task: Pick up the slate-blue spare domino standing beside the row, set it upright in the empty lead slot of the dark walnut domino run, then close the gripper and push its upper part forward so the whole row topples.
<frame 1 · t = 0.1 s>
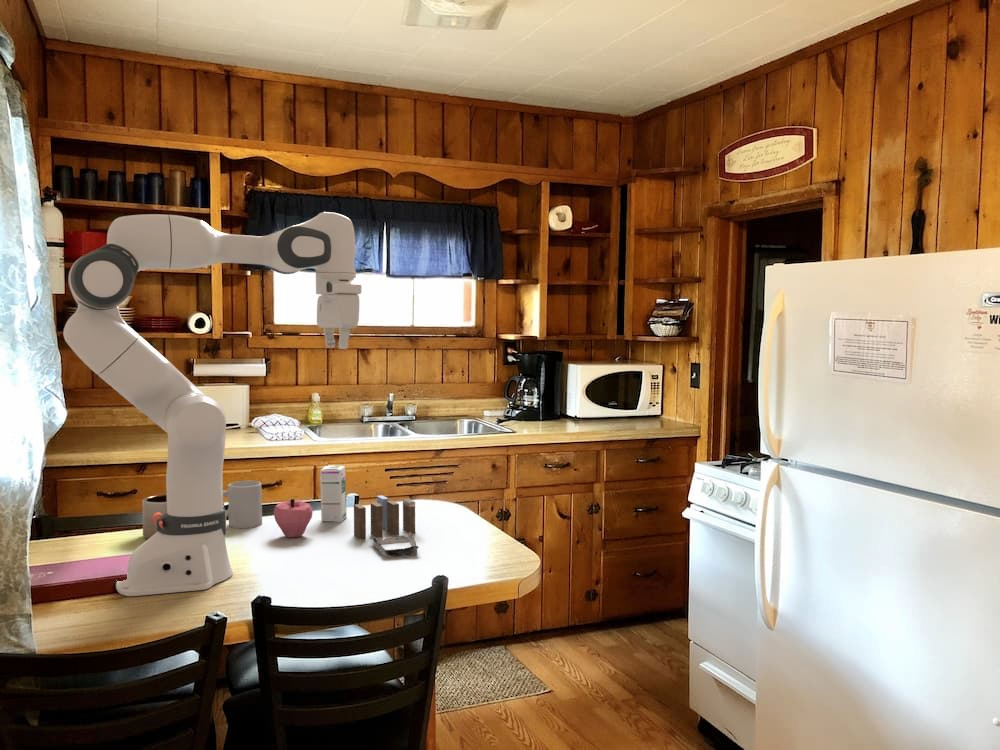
hand: (336, 348, 180), 48 cm above the table, fingers open, 8 cm apart
planter: (166, 536, 202), on the table
mug: (238, 525, 212), on the table
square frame: (395, 552, 190), on the table
domino 4: (393, 533, 204), on the table
domino 5: (409, 531, 206), on the table
domino 3: (376, 535, 202), on the table
domino 2: (359, 537, 200), on the table
spare domino: (382, 527, 210), on the table
apple: (293, 537, 201), on the table
syrup box: (333, 520, 218), on the table
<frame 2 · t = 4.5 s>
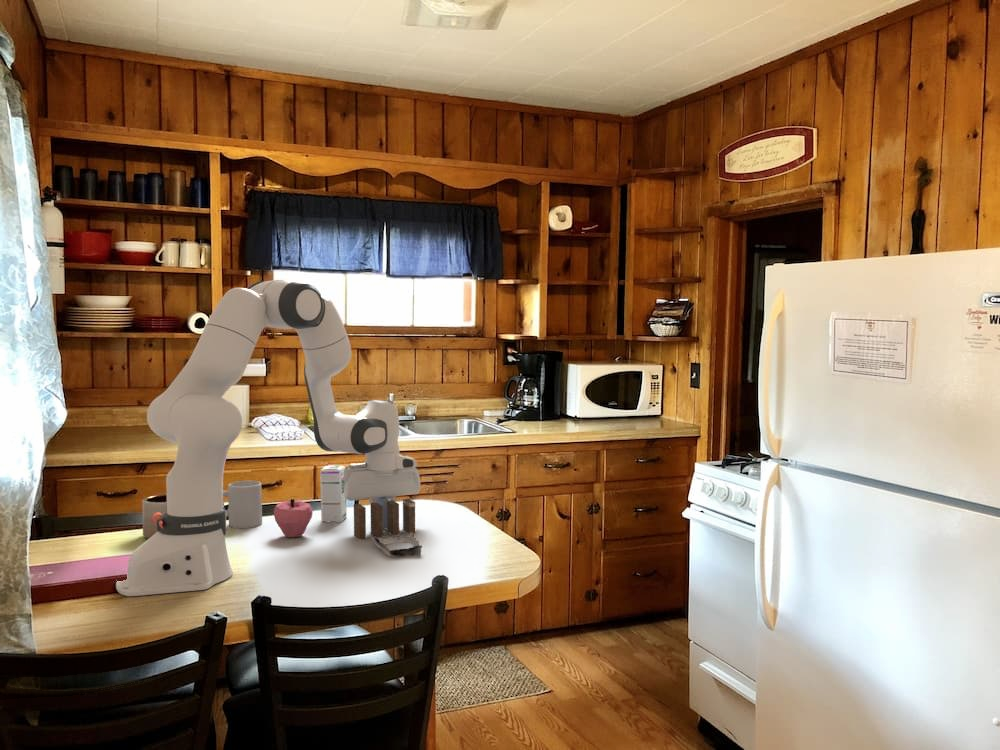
hand: (382, 513, 210), 4 cm above the table, fingers closed on spare domino, 2 cm apart
spare domino: (382, 527, 210), on the table, touching gripper
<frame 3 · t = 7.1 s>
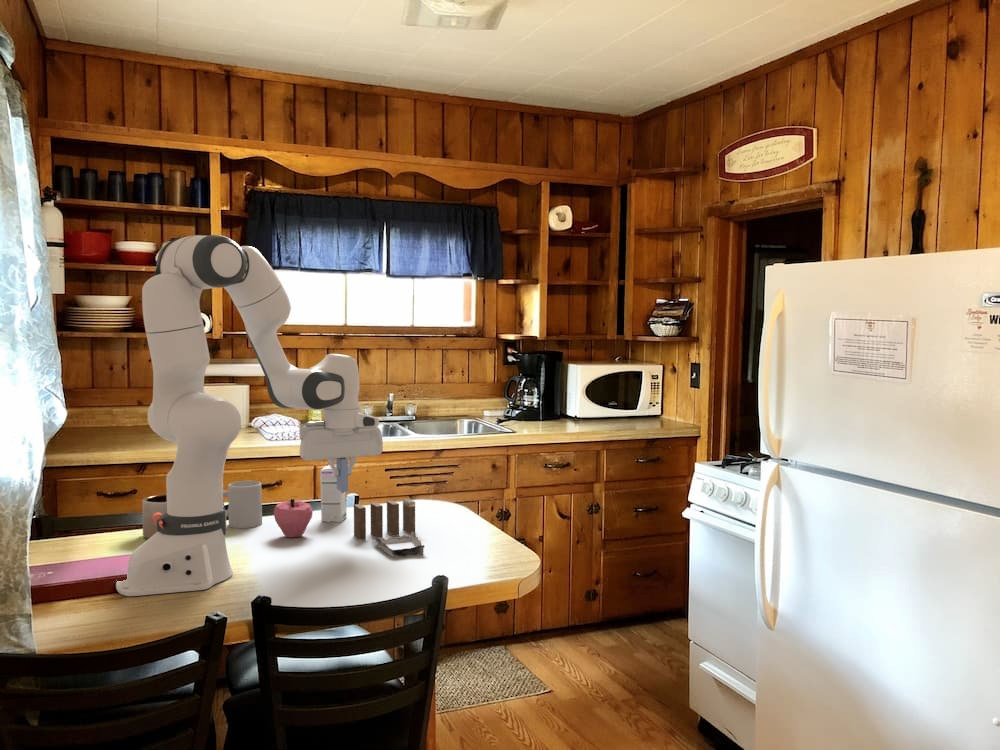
hand: (342, 475, 197), 16 cm above the table, fingers closed on spare domino
spare domino: (342, 490, 197), point 12 cm above the table, touching gripper
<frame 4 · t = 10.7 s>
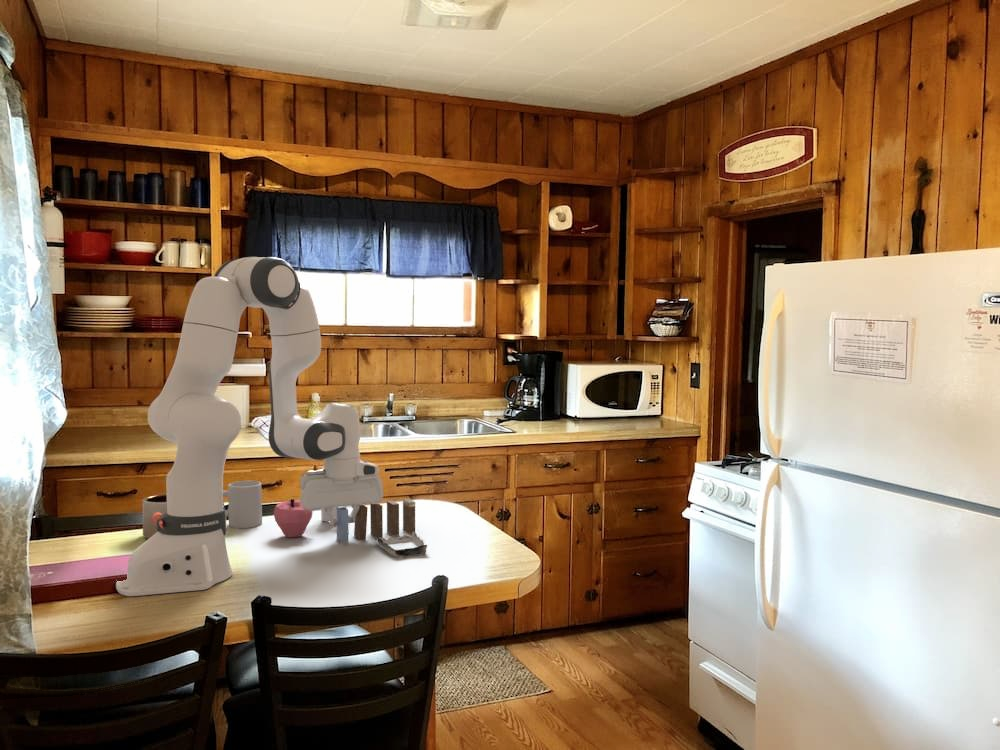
hand: (342, 523, 198), 4 cm above the table, fingers open, 3 cm apart
domino 2: (359, 537, 200), on the table, touching gripper
spare domino: (342, 539, 198), on the table
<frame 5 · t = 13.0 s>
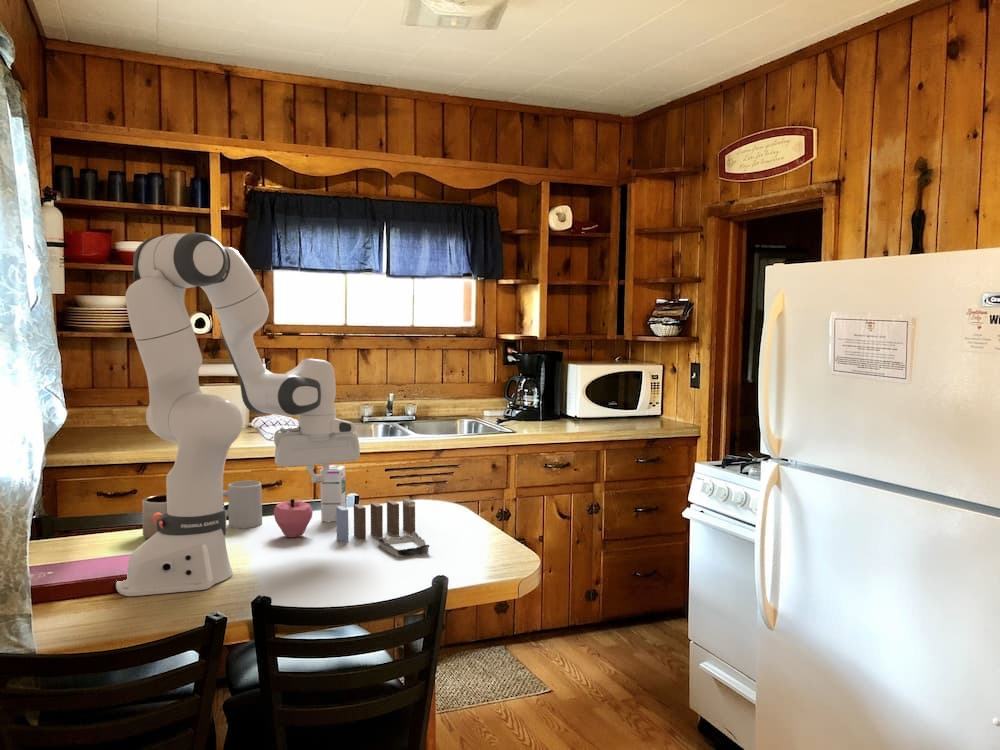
hand: (318, 482, 194), 15 cm above the table, fingers closed
domino 2: (359, 537, 200), on the table
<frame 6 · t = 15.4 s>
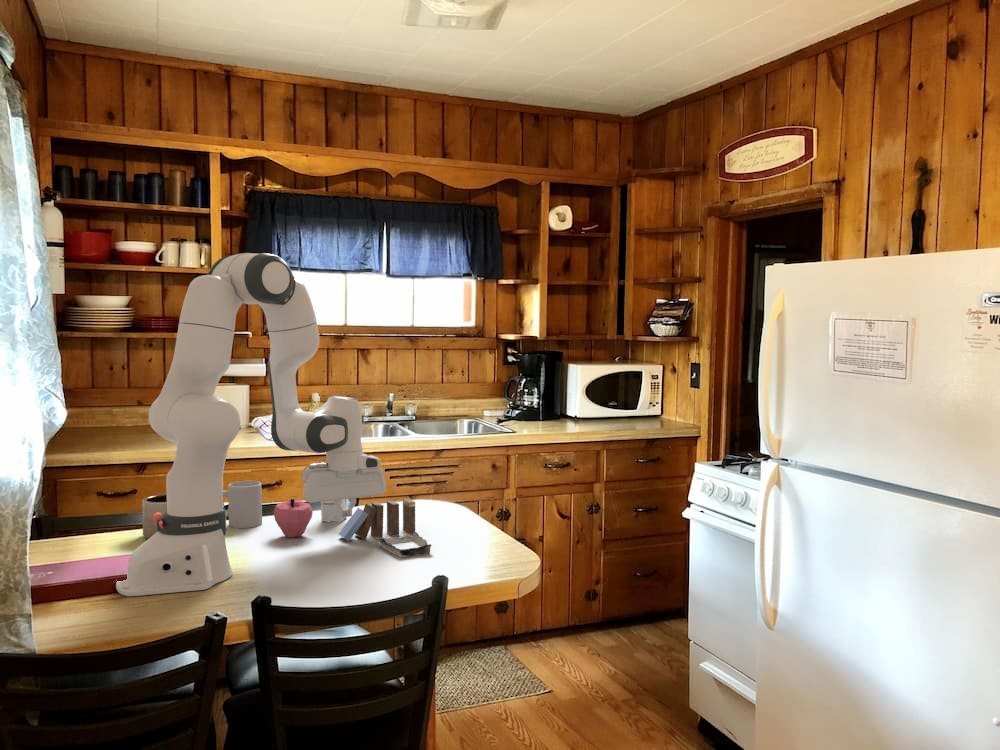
hand: (345, 516, 198), 6 cm above the table, fingers closed
domino 2: (360, 536, 200), on the table, tilted 22°
spare domino: (343, 537, 198), point 1 cm above the table, tilted 40°
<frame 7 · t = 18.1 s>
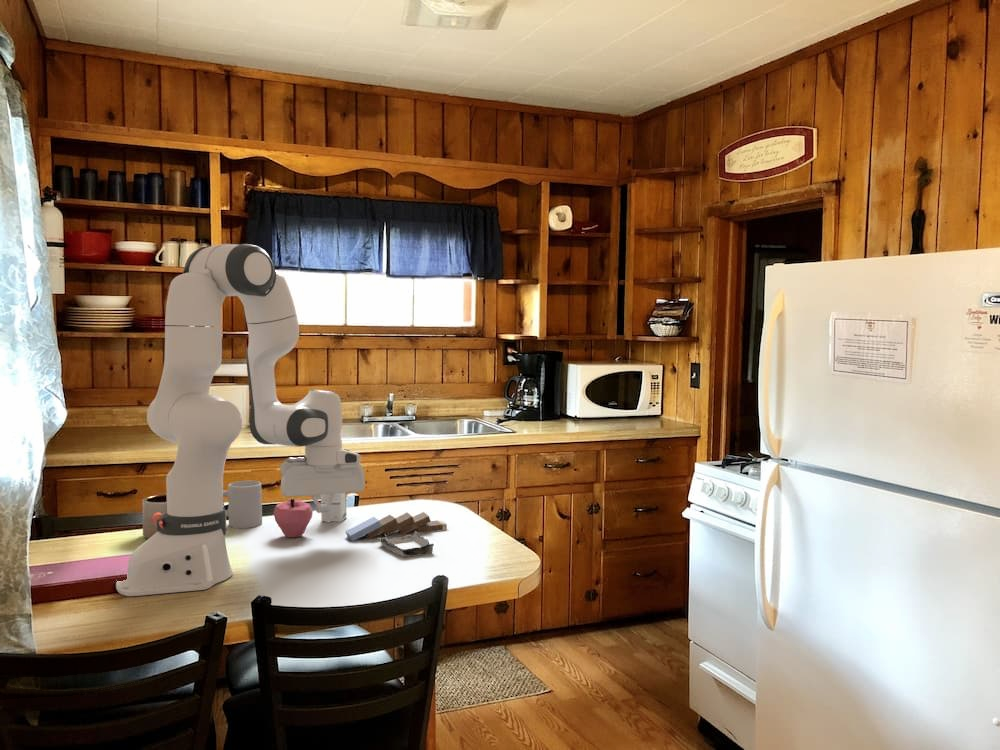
hand: (323, 512, 196), 7 cm above the table, fingers closed
domino 4: (399, 529, 205), point 1 cm above the table, tilted 71°, touching domino 3, domino 5
domino 5: (414, 528, 207), point 1 cm above the table, tilted 90°, touching domino 4
domino 3: (382, 531, 203), point 1 cm above the table, tilted 68°, touching domino 2, domino 4
domino 2: (365, 534, 201), point 1 cm above the table, tilted 68°, touching domino 3, spare domino
spare domino: (349, 536, 199), point 1 cm above the table, tilted 68°, touching domino 2
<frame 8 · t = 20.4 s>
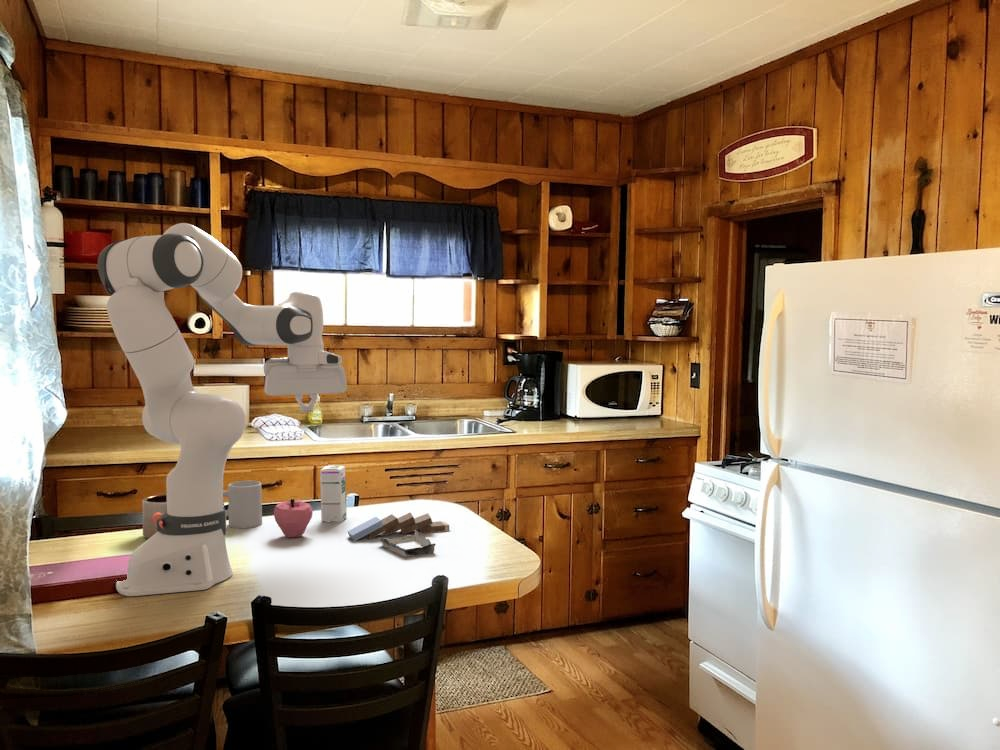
hand: (306, 412, 202), 31 cm above the table, fingers closed
at the end: domino 5 tilted 90°; spare domino tilted 68°; spare domino inside the target area (0.6 cm from its centre), point 0.7 cm above the table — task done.
